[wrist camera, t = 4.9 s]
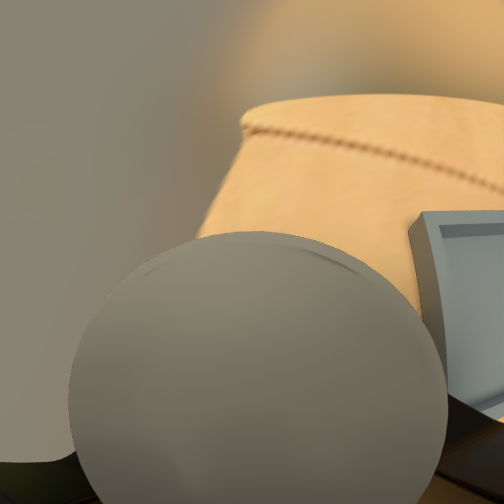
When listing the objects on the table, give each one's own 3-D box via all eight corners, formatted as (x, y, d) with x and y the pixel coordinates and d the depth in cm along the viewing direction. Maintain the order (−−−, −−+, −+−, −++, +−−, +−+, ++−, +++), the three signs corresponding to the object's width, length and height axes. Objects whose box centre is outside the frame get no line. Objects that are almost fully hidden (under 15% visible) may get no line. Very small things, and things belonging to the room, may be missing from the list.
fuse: (322, 406, 13) (420, 559, 1) (255, 408, 13) (87, 536, 1) (320, 342, 14) (424, 220, 2) (255, 345, 15) (83, 246, 3)
